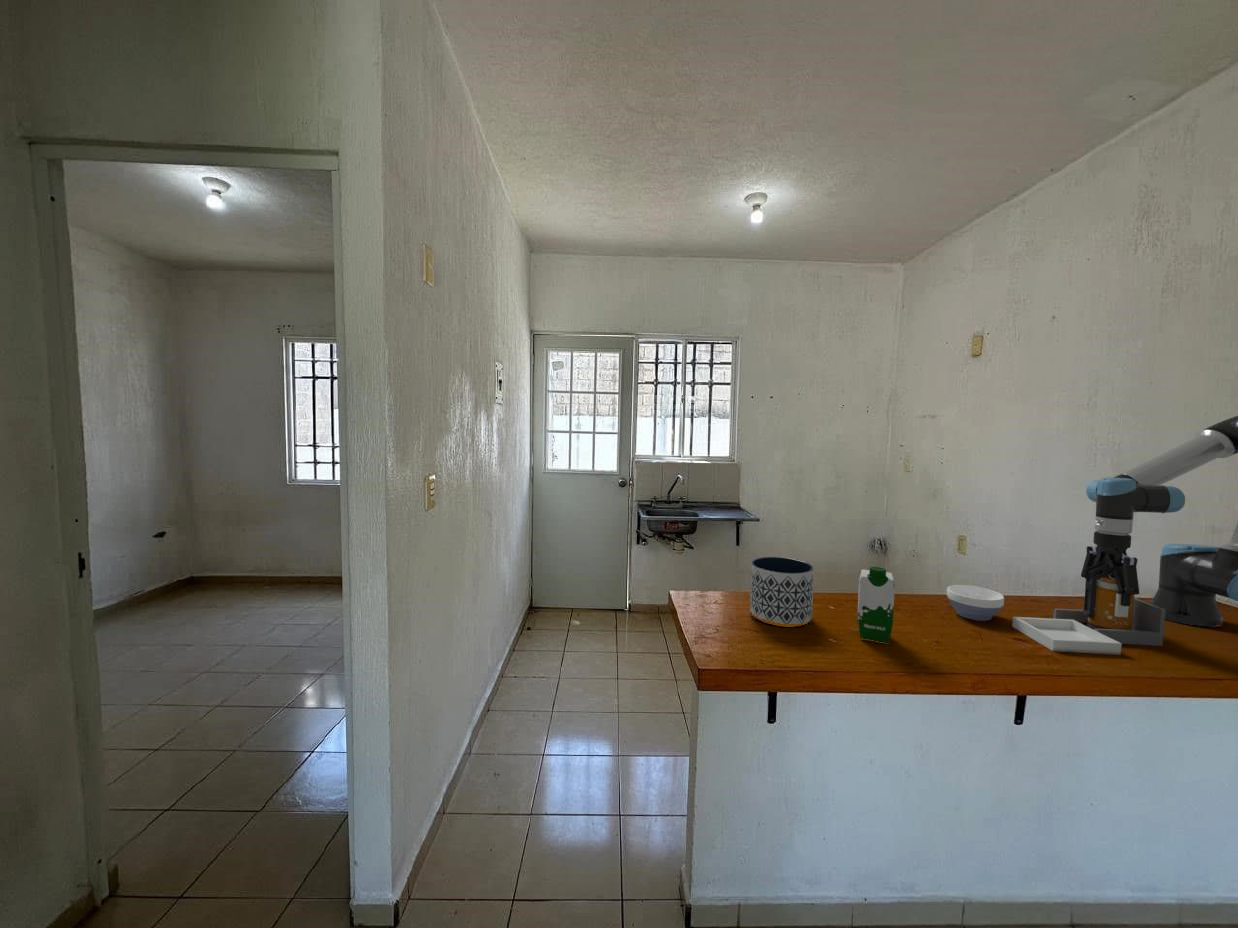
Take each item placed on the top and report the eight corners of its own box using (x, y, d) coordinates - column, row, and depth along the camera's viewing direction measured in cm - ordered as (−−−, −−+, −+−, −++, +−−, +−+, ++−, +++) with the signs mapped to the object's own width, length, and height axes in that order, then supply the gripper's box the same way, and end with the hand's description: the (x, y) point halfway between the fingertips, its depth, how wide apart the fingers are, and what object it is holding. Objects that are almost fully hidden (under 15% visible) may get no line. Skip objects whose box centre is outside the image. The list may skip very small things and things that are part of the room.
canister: (1140, 640, 137) (1146, 569, 136) (1093, 636, 139) (1098, 566, 138) (1114, 627, 146) (1120, 560, 144) (1071, 624, 148) (1076, 558, 147)
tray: (1072, 629, 144) (1073, 619, 144) (1120, 654, 128) (1121, 643, 128) (1012, 626, 146) (1012, 616, 146) (1052, 650, 130) (1053, 639, 130)
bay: (1111, 622, 149) (1114, 590, 149) (1162, 645, 134) (1165, 609, 133) (1053, 619, 151) (1055, 587, 151) (1096, 642, 136) (1099, 606, 135)
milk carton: (856, 640, 136) (860, 569, 134) (856, 628, 144) (859, 561, 142) (893, 647, 132) (897, 573, 130) (890, 634, 140) (894, 564, 139)
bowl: (951, 620, 150) (953, 596, 150) (941, 605, 164) (942, 582, 163) (1010, 628, 145) (1012, 603, 144) (994, 611, 158) (995, 588, 158)
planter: (769, 602, 165) (770, 553, 164) (822, 617, 152) (824, 565, 151) (738, 616, 153) (739, 563, 152) (793, 634, 140) (795, 577, 139)
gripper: (1068, 524, 151) (1062, 596, 153) (1132, 540, 130) (1125, 624, 132) (1095, 525, 151) (1089, 597, 152) (1164, 541, 129) (1156, 625, 131)
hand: (1106, 609), depth 142 cm, fingers closed on canister, 9 cm apart
